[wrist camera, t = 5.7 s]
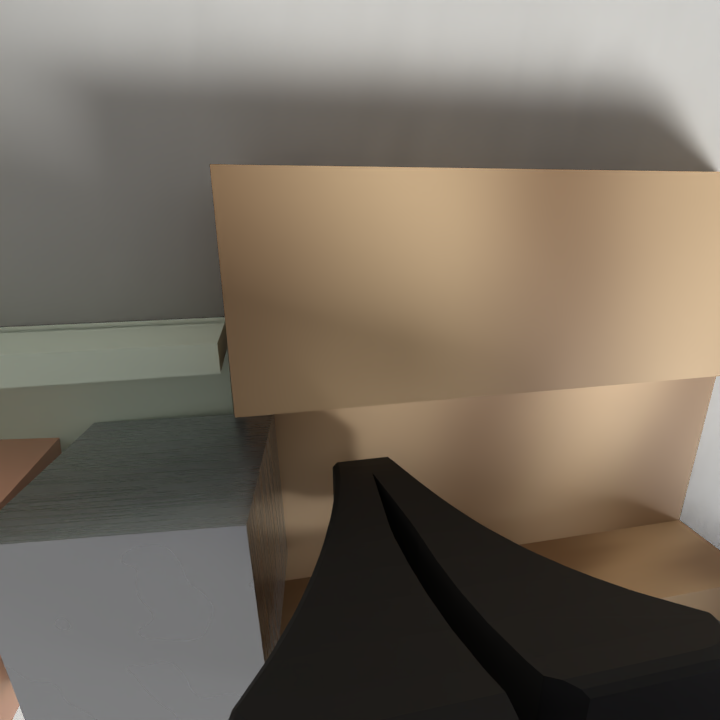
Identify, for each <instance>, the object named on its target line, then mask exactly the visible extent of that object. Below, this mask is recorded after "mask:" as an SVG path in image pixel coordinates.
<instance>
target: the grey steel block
mask: <svg viewBox="0 0 720 720" xmlns="http://www.w3.org/2000/svg"><path fill="white" fill-rule="evenodd" d="M287 557H288V549H287V539H286V529H285V519H284V509H283V499H282V489H281V479H280V470H279V460H278V450H277V440H276V430H275V420H274V414H272V415H260V416H248V417H237V418H235V415H234V414H227V415H211V416H195V417H178V418H162V419H146V420H130V421H114V422H98V423H94V424H92V425H91V426H90V427H89V428H88V429H87V430H86V431H85V432H84V433H83V434H82V435H81V436H80V437H78V438H77V439H76V440H75V441H74V442H73V443H72V444H71V445H70V446H69V447H68V448H67V449H66V450H64V451H63V452H62V453H61V454H60V455H59V456H58V457H57V458H56V459H55V460H54V461H53V462H52V463H50V464H49V465H48V466H47V467H46V468H45V469H44V470H43V471H42V472H41V473H40V474H39V475H38V476H36V477H35V478H34V479H33V480H32V481H31V482H30V483H29V484H28V485H27V486H26V487H25V488H24V489H22V490H21V491H20V492H19V493H18V494H17V495H16V496H15V497H14V498H13V499H12V500H11V501H10V502H8V503H7V504H6V505H5V506H4V507H3V508H2V509H1V510H0V655H1V658H2V661H3V663H4V666H5V668H6V671H7V674H8V676H9V679H10V682H11V684H12V687H13V690H14V692H15V695H16V698H17V700H18V703H19V705H20V708H21V711H22V713H23V716H24V719H25V720H229V717H230V714H231V711H232V709H233V708H234V707H235V705H236V704H237V702H238V701H239V699H240V698H241V697H242V695H243V694H244V692H245V691H246V689H247V688H248V686H249V685H250V684H251V682H252V681H253V679H254V678H255V676H256V675H257V673H258V672H259V671H260V669H261V668H262V666H263V665H264V663H265V662H266V660H267V659H268V657H269V655H270V654H271V652H272V651H273V649H274V647H275V645H276V644H277V642H278V640H279V636H280V627H281V617H282V607H283V597H284V587H285V577H286V567H287Z"/></svg>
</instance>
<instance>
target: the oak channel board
mask: <svg viewBox="0 0 720 720" xmlns="http://www.w3.org/2000/svg"><path fill="white" fill-rule="evenodd" d="M210 172H211V182H212V192H213V203H214V213H215V223H216V233H217V243H218V253H219V263H220V274H221V284H222V294H223V304H224V314H225V324H226V334H227V344H228V355H229V365H230V375H231V385H232V395H233V405H234V415H235V418H237V417H248V416H260V415H272V414H274V420H275V430H276V440H277V450H278V460H279V470H280V479H281V489H282V499H283V509H284V519H285V529H286V539H287V549H288V557H287V567H286V577H285V587H284V597H283V607H282V617H281V627H280V636H279V638H280V637H281V635H282V633H283V632H284V630H285V628H286V626H287V625H288V623H289V621H290V619H291V618H292V616H293V614H294V612H295V610H296V608H297V606H298V604H299V602H300V600H301V598H302V596H303V594H304V591H305V589H306V587H307V585H308V583H309V580H310V578H311V576H312V573H313V571H314V568H315V566H316V563H317V561H318V558H319V555H320V552H321V549H322V546H323V543H324V540H325V536H326V532H327V529H328V525H329V521H330V517H331V513H332V507H333V501H334V498H333V466H334V465H335V464H336V463H337V462H344V461H353V460H362V459H371V458H380V457H389V458H390V459H391V460H393V461H394V462H395V463H397V464H398V465H399V466H400V467H402V468H403V469H404V470H405V471H407V472H408V473H409V474H410V475H412V476H413V477H414V478H415V479H417V480H418V481H419V482H420V483H422V484H423V485H424V486H426V487H427V488H428V489H430V490H431V491H432V492H434V493H435V494H436V495H438V496H439V497H441V498H442V499H443V500H445V501H446V502H448V503H449V504H450V505H452V506H453V507H455V508H456V509H458V510H459V511H461V512H463V513H464V514H466V515H467V516H469V517H470V518H472V519H473V520H475V521H477V522H478V523H480V524H482V525H483V526H485V527H487V528H488V529H490V530H492V531H494V532H496V533H498V534H499V535H501V536H503V537H505V538H507V539H509V540H511V541H512V542H514V543H516V544H518V545H520V546H522V547H524V548H526V549H528V550H531V551H533V552H535V553H537V554H539V555H542V556H544V557H546V558H548V559H551V560H553V561H555V562H558V563H560V564H562V565H564V566H567V567H569V568H572V569H574V570H577V571H579V572H582V573H585V574H587V575H590V576H592V577H595V578H598V579H601V580H604V581H607V582H609V583H612V584H615V585H618V586H621V587H624V588H627V589H629V590H633V591H636V592H639V593H642V594H646V595H649V596H653V597H656V598H660V599H664V600H667V601H671V602H674V603H678V604H681V605H685V606H688V607H692V608H695V609H699V610H702V611H706V612H709V613H711V614H712V615H713V616H714V617H715V618H716V619H717V620H719V621H720V550H719V549H717V548H716V547H715V546H713V545H712V544H711V543H709V542H708V541H707V540H705V539H704V538H703V537H701V536H700V535H699V534H697V533H696V532H695V531H693V530H692V529H690V528H689V527H688V526H686V525H685V524H684V523H682V522H681V521H680V520H679V519H680V515H681V511H682V507H683V503H684V499H685V495H686V491H687V487H688V484H689V480H690V476H691V472H692V468H693V464H694V460H695V456H696V452H697V449H698V445H699V441H700V437H701V433H702V429H703V425H704V421H705V418H706V414H707V410H708V406H709V402H710V398H711V394H712V390H713V386H714V383H715V379H716V376H720V172H697V171H630V170H562V169H495V168H428V167H360V166H293V165H226V164H210Z"/></svg>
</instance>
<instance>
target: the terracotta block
mask: <svg viewBox="0 0 720 720" xmlns="http://www.w3.org/2000/svg"><path fill="white" fill-rule="evenodd" d="M61 453H62V452H61V445H60V439H59V438H33V439H0V510H1V509H2V508H3V507H4V506H5V505H6V504H7V503H8V502H10V501H11V500H12V499H13V498H14V497H15V496H16V495H17V494H18V493H19V492H20V491H21V490H22V489H24V488H25V487H26V486H27V485H28V484H29V483H30V482H31V481H32V480H33V479H34V478H35V477H36V476H38V475H39V474H40V473H41V472H42V471H43V470H44V469H45V468H46V467H47V466H48V465H49V464H50V463H52V462H53V461H54V460H55V459H56V458H57V457H58V456H59V455H60V454H61ZM18 707H19V703H18V700H17V698H16V695H15V692H14V690H13V687H12V684H11V682H10V679H9V676H8V674H7V671H6V668H5V666H4V663H3V661H2V658H1V655H0V720H12V719H13V717H14V715H15V713H16V711H17V709H18Z"/></svg>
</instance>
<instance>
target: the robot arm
mask: <svg viewBox="0 0 720 720" xmlns="http://www.w3.org/2000/svg"><path fill="white" fill-rule="evenodd" d="M333 498H334V501H333V507H332V513H331V517H330V521H329V525H328V529H327V532H326V536H325V540H324V543H323V546H322V549H321V552H320V555H319V558H318V561H317V563H316V566H315V568H314V571H313V573H312V576H311V578H310V580H309V583H308V585H307V587H306V589H305V591H304V594H303V596H302V598H301V600H300V602H299V604H298V606H297V608H296V610H295V612H294V614H293V616H292V618H291V619H290V621H289V623H288V625H287V626H286V628H285V630H284V632H283V633H282V635H281V637H280V638H279V640H278V642H277V644H276V645H275V647H274V649H273V651H272V652H271V654H270V655H269V657H268V659H267V660H266V662H265V663H264V665H263V666H262V668H261V669H260V671H259V672H258V673H257V675H256V676H255V678H254V679H253V681H252V682H251V684H250V685H249V686H248V688H247V689H246V691H245V692H244V694H243V695H242V697H241V698H240V699H239V701H238V702H237V704H236V705H235V707H234V708H233V709H232V711H231V714H230V717H229V720H720V621H719V620H717V619H716V618H715V617H714V616H713V615H712V614H711V613H709V612H706V611H702V610H699V609H695V608H692V607H688V606H685V605H681V604H678V603H674V602H671V601H667V600H664V599H660V598H656V597H653V596H649V595H646V594H642V593H639V592H636V591H633V590H629V589H627V588H624V587H621V586H618V585H615V584H612V583H609V582H607V581H604V580H601V579H598V578H595V577H592V576H590V575H587V574H585V573H582V572H579V571H577V570H574V569H572V568H569V567H567V566H564V565H562V564H560V563H558V562H555V561H553V560H551V559H548V558H546V557H544V556H542V555H539V554H537V553H535V552H533V551H531V550H528V549H526V548H524V547H522V546H520V545H518V544H516V543H514V542H512V541H511V540H509V539H507V538H505V537H503V536H501V535H499V534H498V533H496V532H494V531H492V530H490V529H488V528H487V527H485V526H483V525H482V524H480V523H478V522H477V521H475V520H473V519H472V518H470V517H469V516H467V515H466V514H464V513H463V512H461V511H459V510H458V509H456V508H455V507H453V506H452V505H450V504H449V503H448V502H446V501H445V500H443V499H442V498H441V497H439V496H438V495H436V494H435V493H434V492H432V491H431V490H430V489H428V488H427V487H426V486H424V485H423V484H422V483H420V482H419V481H418V480H417V479H415V478H414V477H413V476H412V475H410V474H409V473H408V472H407V471H405V470H404V469H403V468H402V467H400V466H399V465H398V464H397V463H395V462H394V461H393V460H391V459H390V458H389V457H380V458H371V459H362V460H353V461H344V462H337V463H336V464H335V465H334V466H333Z"/></svg>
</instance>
